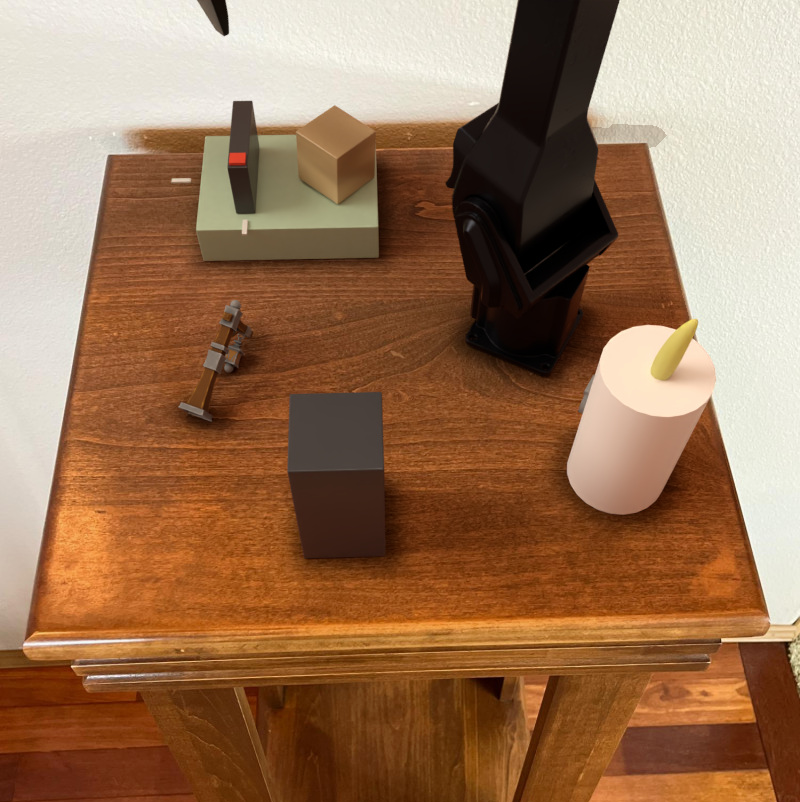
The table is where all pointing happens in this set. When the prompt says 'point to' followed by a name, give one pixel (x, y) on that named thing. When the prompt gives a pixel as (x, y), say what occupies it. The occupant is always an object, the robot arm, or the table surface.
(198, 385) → the wooden lantern post
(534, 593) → the table surface
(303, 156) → the block
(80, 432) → the table surface
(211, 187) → the base
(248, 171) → the dark grey panel
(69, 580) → the table surface
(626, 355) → the candle
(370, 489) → the stand
